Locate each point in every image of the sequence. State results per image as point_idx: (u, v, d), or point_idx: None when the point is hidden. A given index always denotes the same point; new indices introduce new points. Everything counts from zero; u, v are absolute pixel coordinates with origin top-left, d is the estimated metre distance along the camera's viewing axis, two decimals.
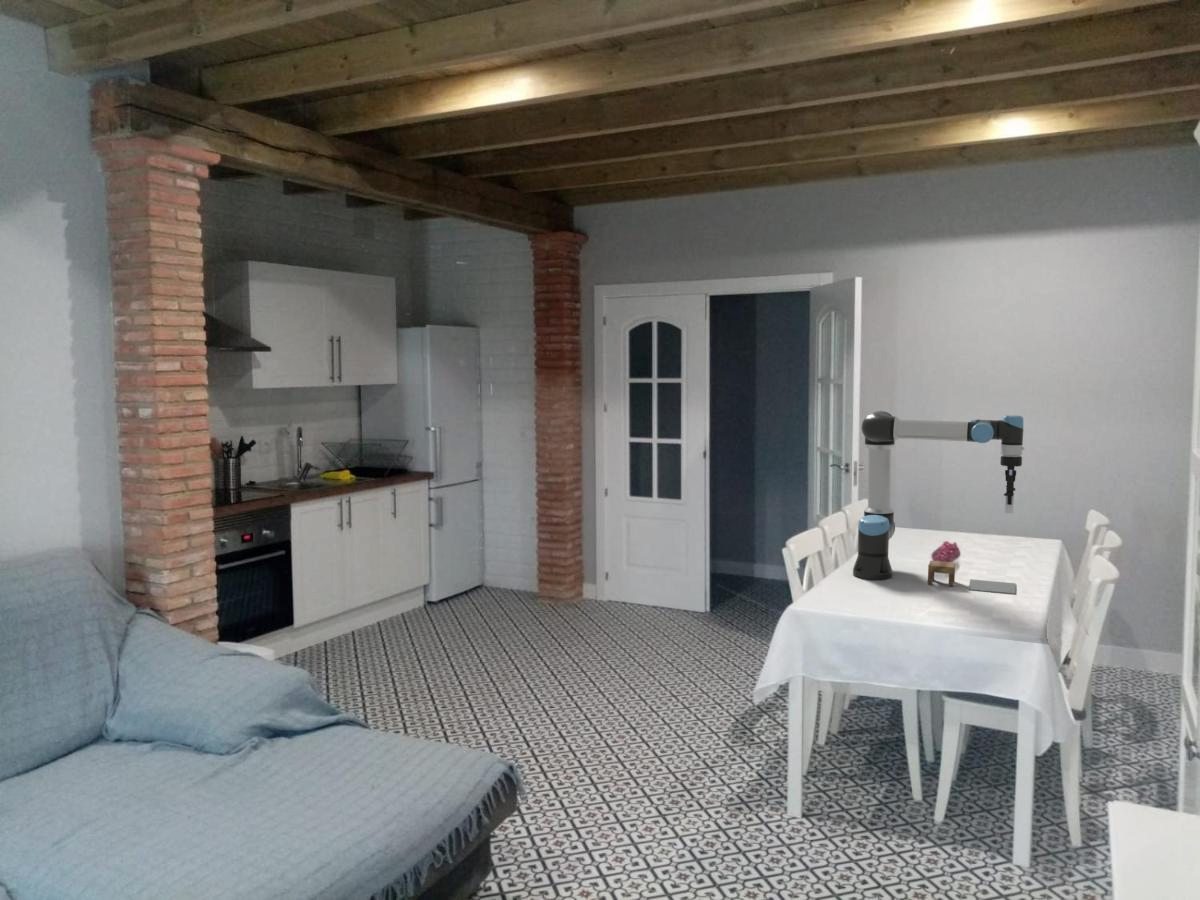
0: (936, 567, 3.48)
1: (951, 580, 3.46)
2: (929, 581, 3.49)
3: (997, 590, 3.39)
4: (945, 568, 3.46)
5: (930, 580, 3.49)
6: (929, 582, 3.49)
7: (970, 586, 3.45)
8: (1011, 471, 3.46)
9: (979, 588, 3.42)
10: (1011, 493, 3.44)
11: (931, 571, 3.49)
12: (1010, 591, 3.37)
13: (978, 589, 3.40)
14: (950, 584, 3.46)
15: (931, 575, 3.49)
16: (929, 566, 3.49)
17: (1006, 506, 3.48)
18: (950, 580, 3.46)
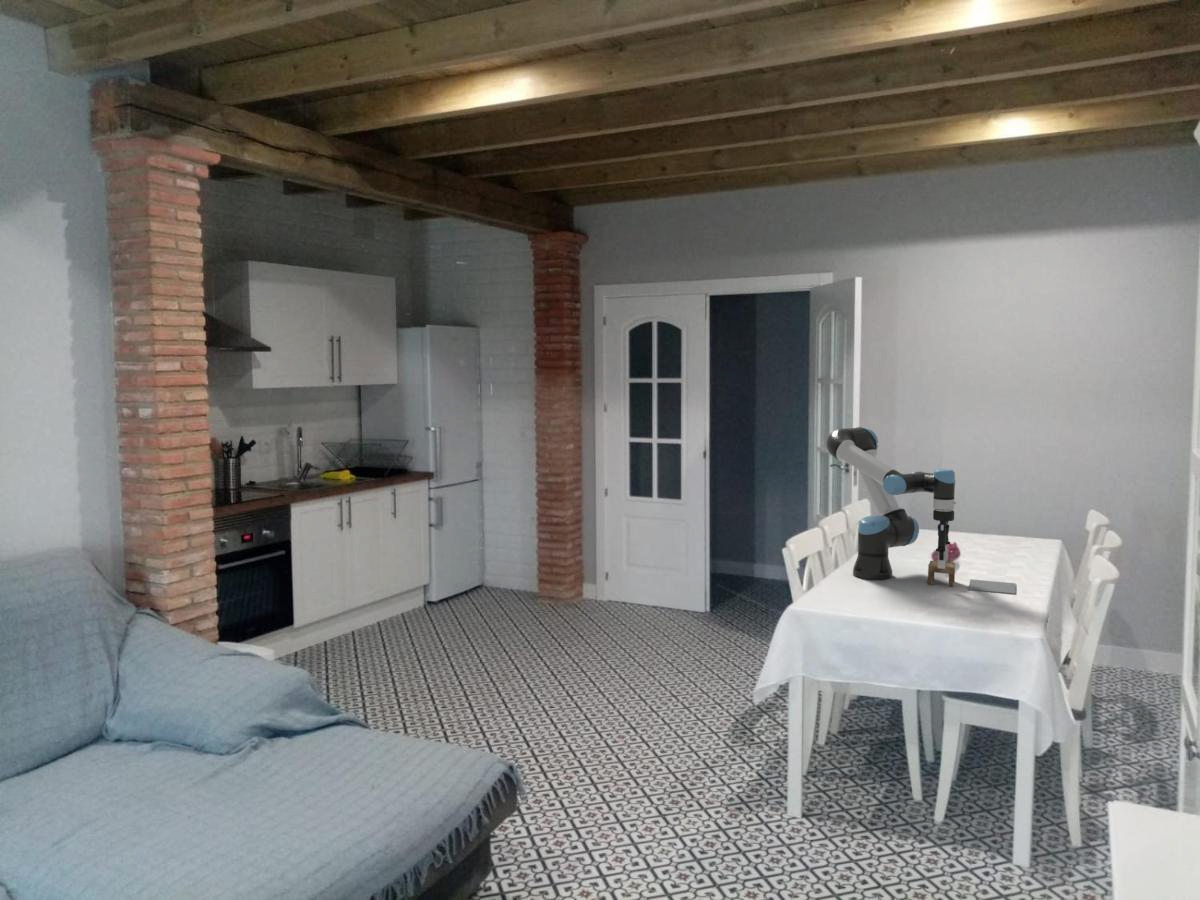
0: (936, 567, 3.48)
1: (951, 580, 3.46)
2: (929, 581, 3.49)
3: (997, 590, 3.39)
4: (945, 568, 3.46)
5: (930, 580, 3.49)
6: (929, 582, 3.49)
7: (970, 586, 3.45)
8: (942, 526, 3.43)
9: (979, 588, 3.42)
10: (942, 549, 3.41)
11: (931, 571, 3.49)
12: (1010, 591, 3.37)
13: (978, 589, 3.40)
14: (950, 584, 3.46)
15: (931, 575, 3.49)
16: (929, 566, 3.49)
17: (938, 561, 3.44)
18: (950, 580, 3.46)
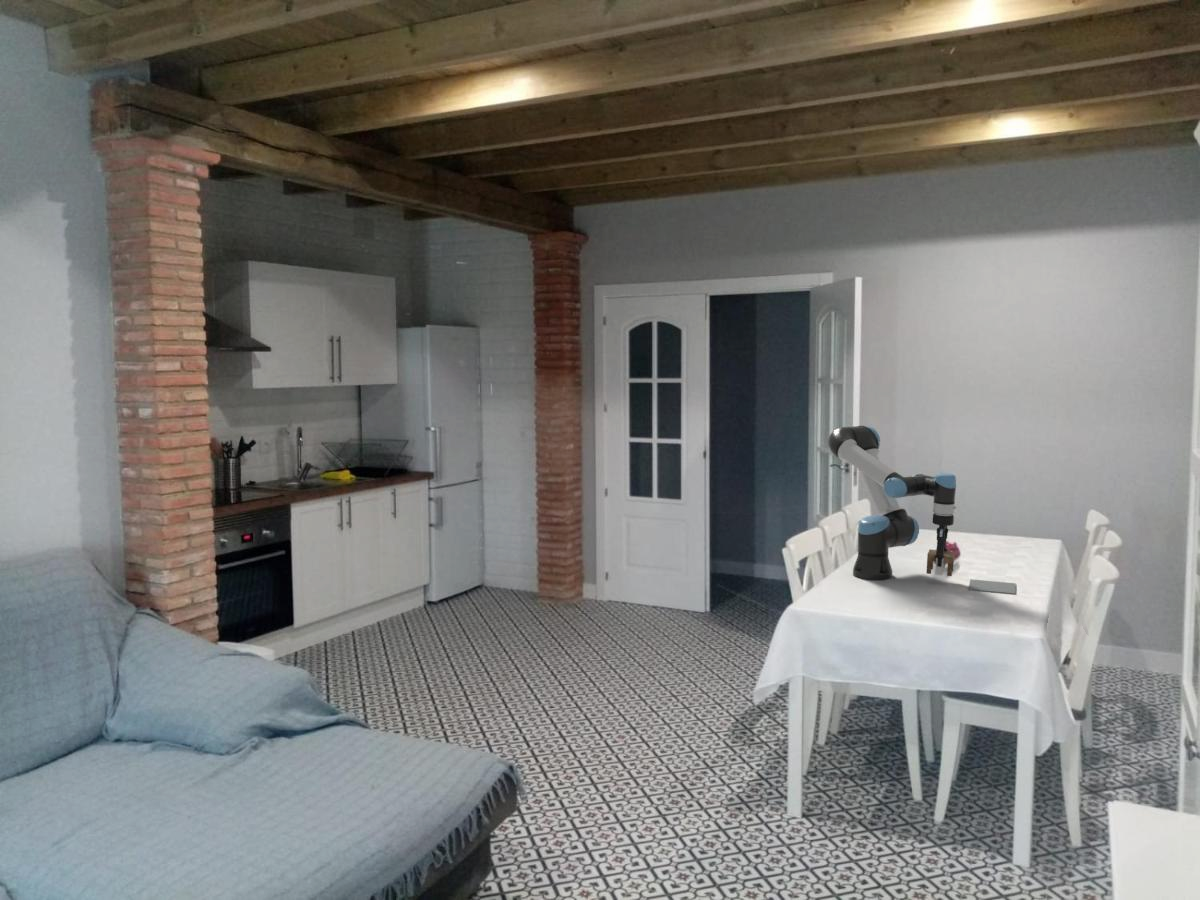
0: None
1: (950, 569, 3.46)
2: (928, 570, 3.49)
3: (997, 590, 3.39)
4: (944, 557, 3.46)
5: (929, 569, 3.49)
6: (928, 571, 3.50)
7: (970, 586, 3.45)
8: (941, 533, 3.44)
9: (979, 588, 3.42)
10: (941, 556, 3.43)
11: (930, 560, 3.49)
12: (1010, 591, 3.37)
13: (978, 589, 3.40)
14: (949, 573, 3.46)
15: (930, 564, 3.49)
16: (928, 555, 3.49)
17: (936, 568, 3.47)
18: (949, 569, 3.46)
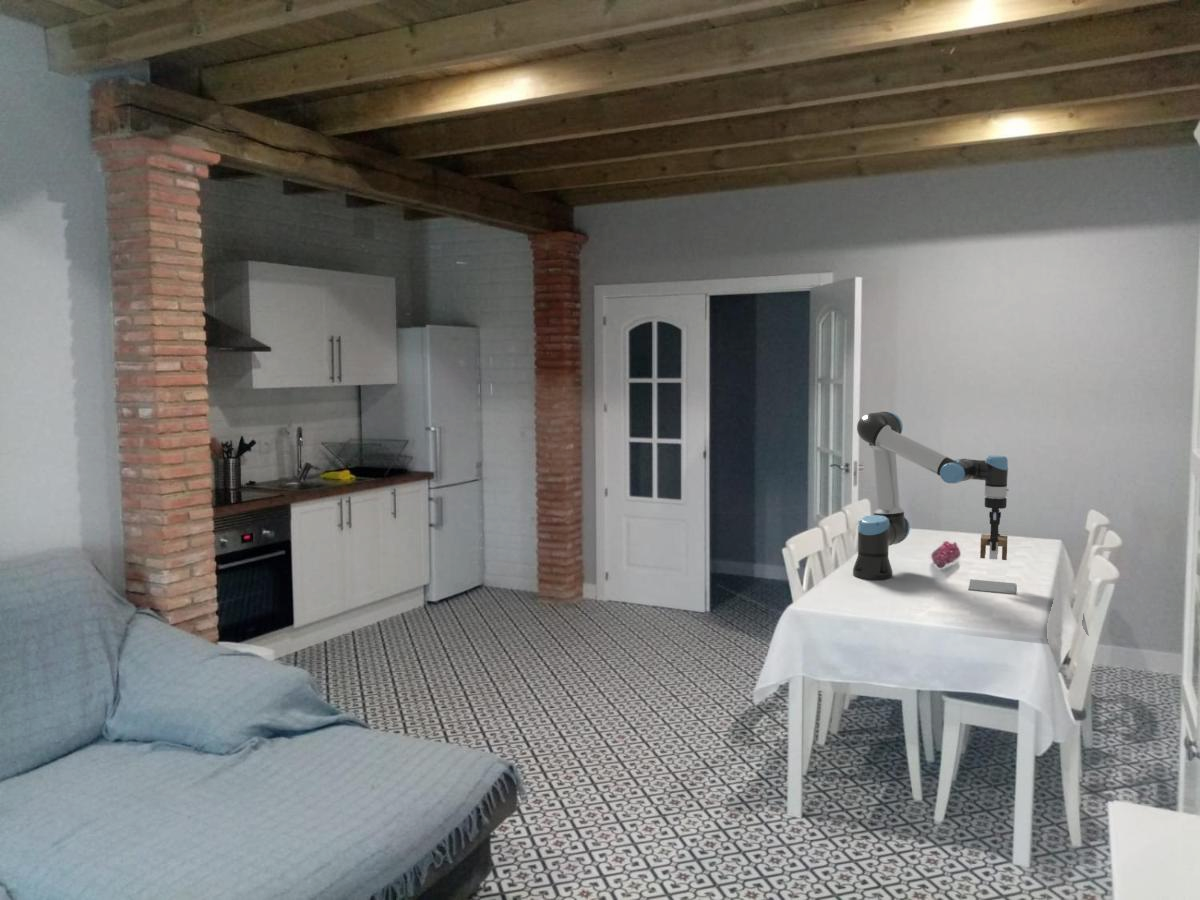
0: None
1: (1005, 553, 3.38)
2: (981, 554, 3.41)
3: (997, 590, 3.39)
4: (998, 541, 3.39)
5: (983, 553, 3.41)
6: (981, 555, 3.41)
7: (970, 586, 3.45)
8: (995, 516, 3.36)
9: (979, 588, 3.42)
10: (995, 539, 3.36)
11: (984, 544, 3.41)
12: (1010, 591, 3.37)
13: (978, 589, 3.40)
14: (1003, 557, 3.38)
15: (983, 549, 3.41)
16: (981, 539, 3.41)
17: (990, 552, 3.39)
18: (1003, 553, 3.38)
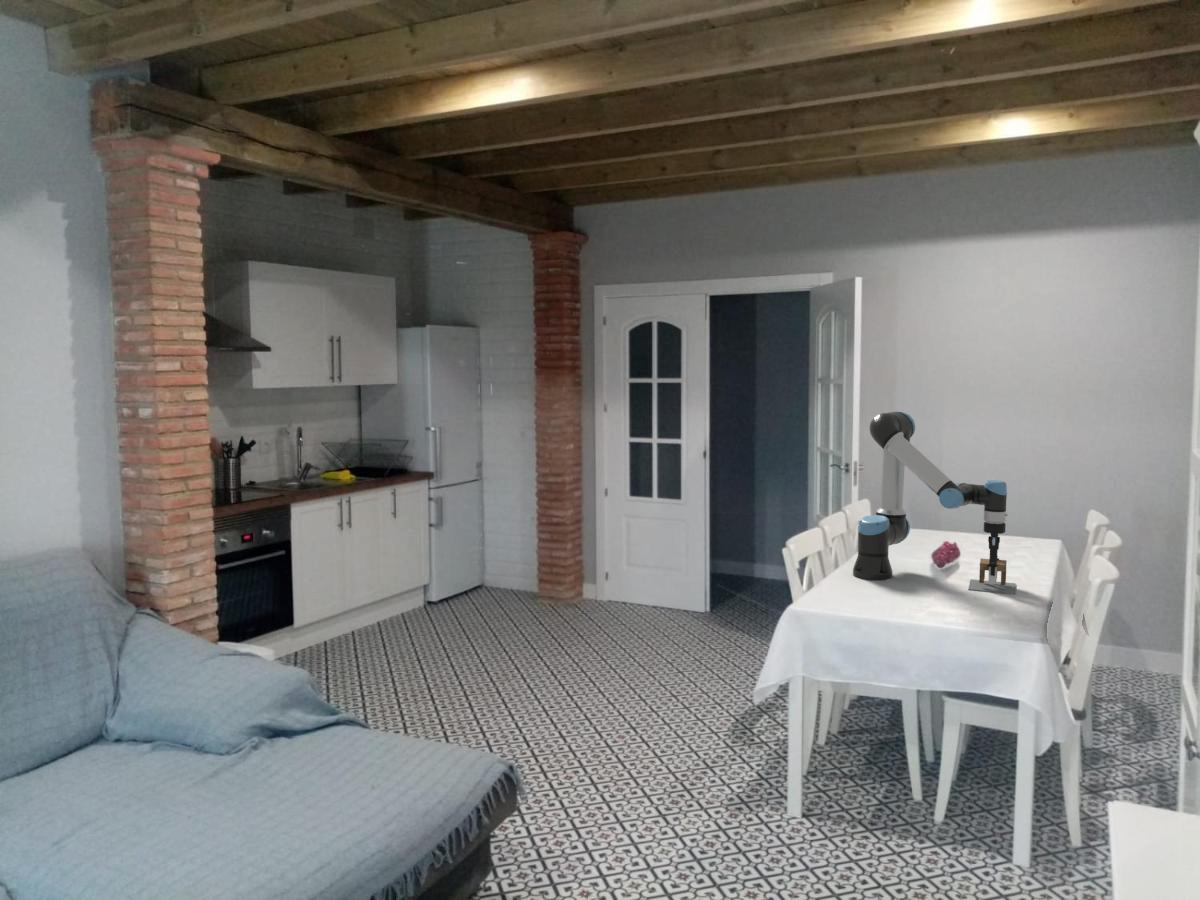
0: None
1: (1004, 578, 3.39)
2: (981, 579, 3.42)
3: (997, 590, 3.39)
4: (997, 566, 3.40)
5: (982, 578, 3.42)
6: (981, 580, 3.42)
7: (970, 586, 3.45)
8: (994, 541, 3.37)
9: (979, 588, 3.42)
10: (994, 564, 3.37)
11: (983, 569, 3.42)
12: (1010, 591, 3.37)
13: (978, 589, 3.40)
14: (1002, 582, 3.39)
15: (983, 573, 3.42)
16: (981, 564, 3.42)
17: (989, 577, 3.40)
18: (1002, 578, 3.39)
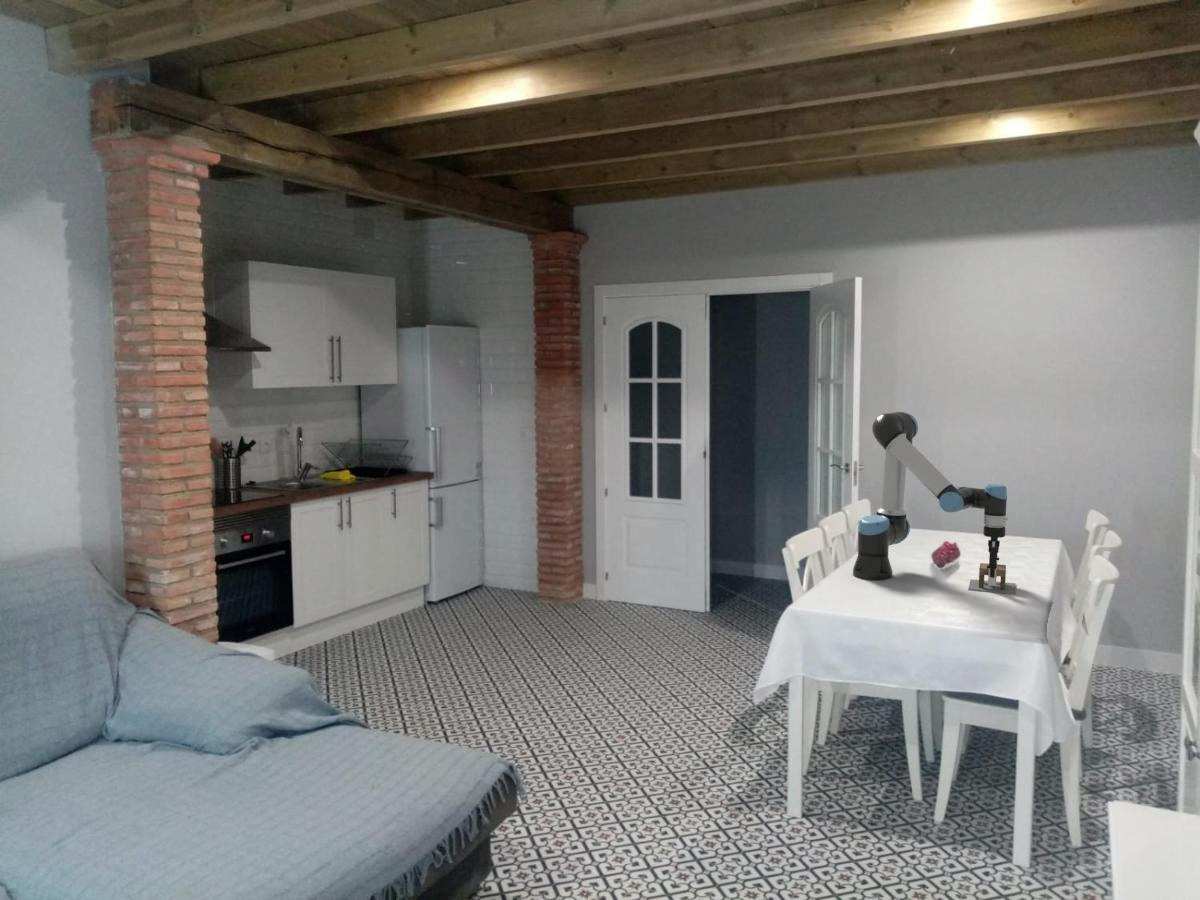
0: (987, 570, 3.41)
1: (1003, 583, 3.39)
2: (980, 584, 3.43)
3: (997, 590, 3.39)
4: (997, 571, 3.40)
5: (981, 583, 3.43)
6: (980, 585, 3.43)
7: (970, 586, 3.45)
8: (994, 543, 3.37)
9: (979, 588, 3.42)
10: (994, 566, 3.35)
11: (982, 574, 3.42)
12: (1010, 591, 3.37)
13: (978, 589, 3.40)
14: (1002, 587, 3.40)
15: (982, 578, 3.42)
16: (980, 569, 3.42)
17: (989, 579, 3.39)
18: (1002, 583, 3.40)
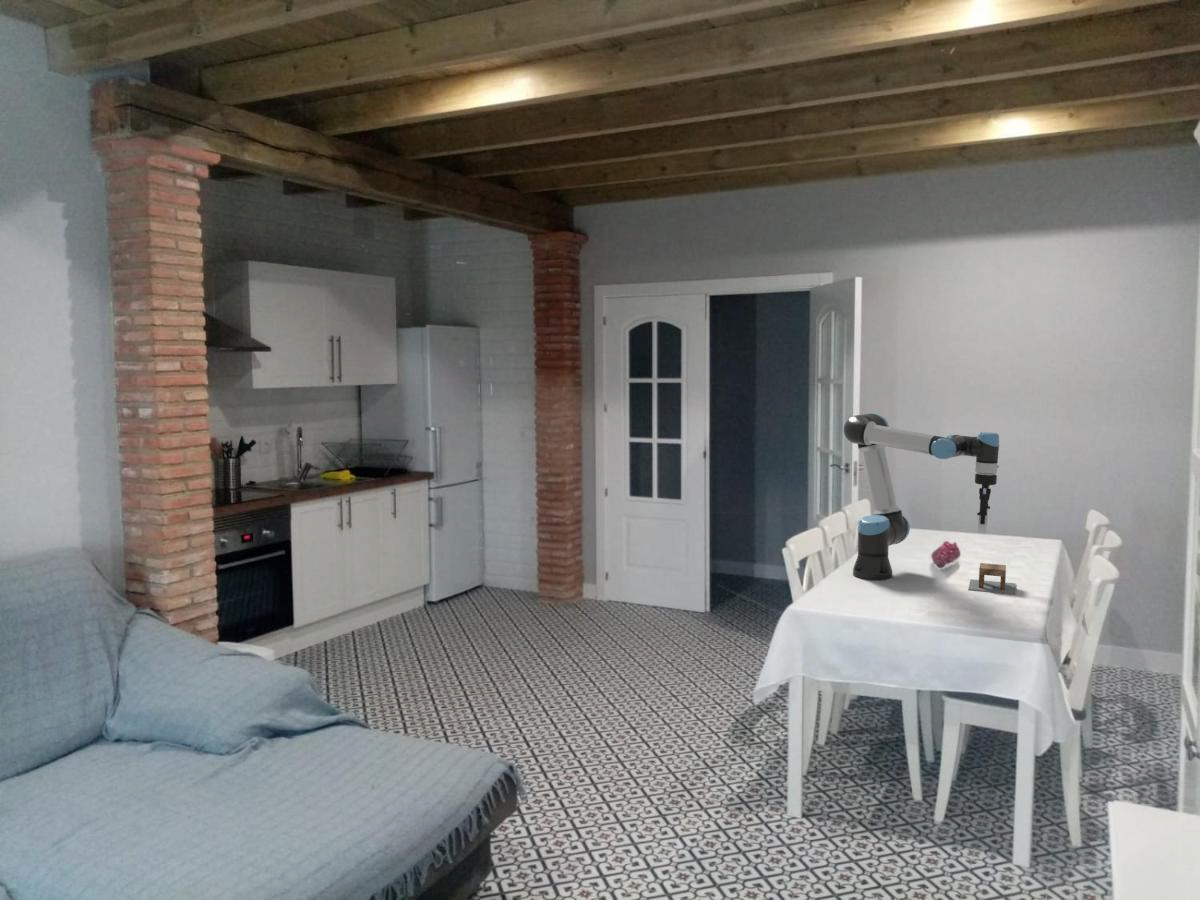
0: (987, 570, 3.41)
1: (1003, 583, 3.39)
2: (980, 584, 3.43)
3: (997, 590, 3.39)
4: (997, 571, 3.40)
5: (981, 583, 3.43)
6: (980, 585, 3.43)
7: (970, 586, 3.45)
8: (985, 490, 3.38)
9: (979, 588, 3.42)
10: (984, 513, 3.36)
11: (982, 574, 3.42)
12: (1010, 591, 3.37)
13: (978, 589, 3.40)
14: (1002, 587, 3.40)
15: (982, 578, 3.42)
16: (980, 569, 3.42)
17: (979, 525, 3.40)
18: (1002, 583, 3.40)
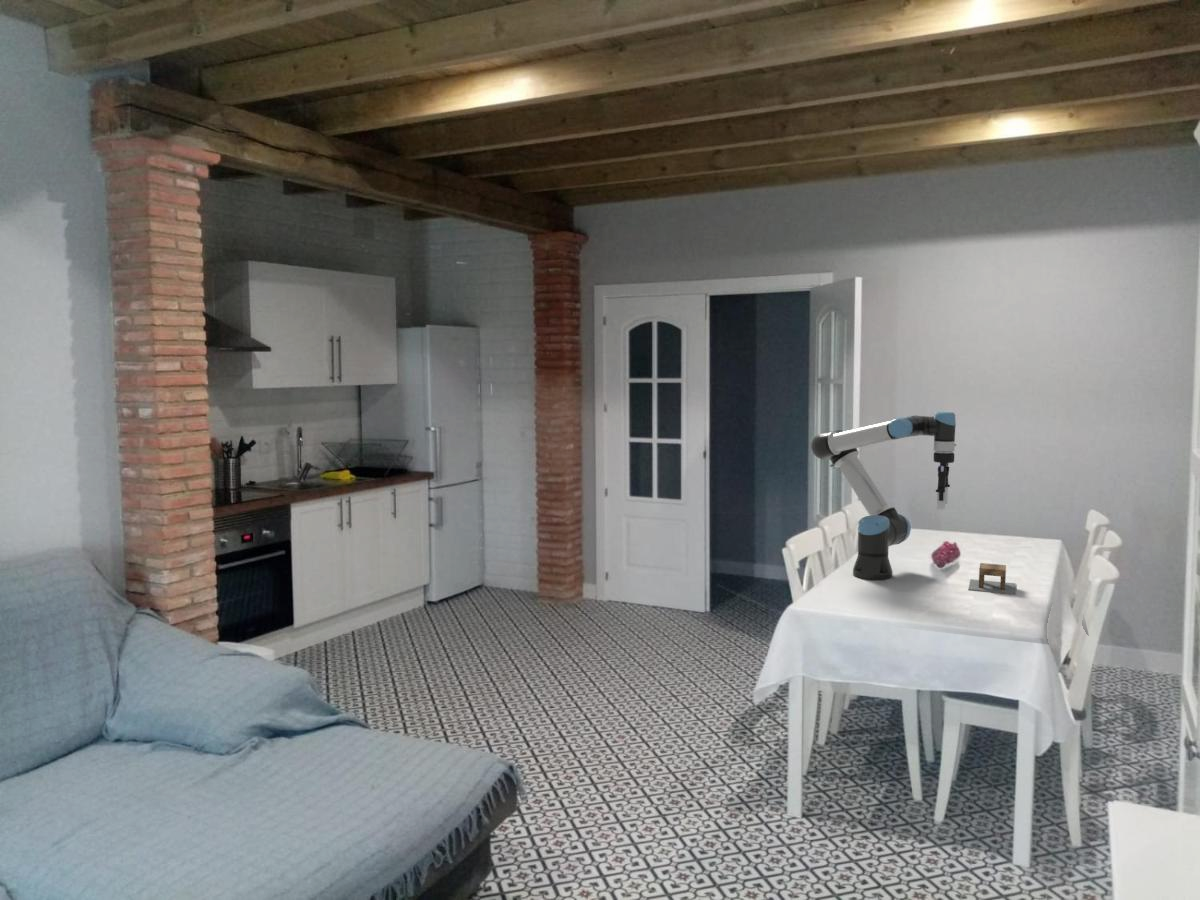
0: (987, 570, 3.41)
1: (1003, 583, 3.39)
2: (980, 584, 3.43)
3: (997, 590, 3.39)
4: (997, 571, 3.40)
5: (981, 583, 3.43)
6: (980, 585, 3.43)
7: (970, 586, 3.45)
8: (943, 467, 3.48)
9: (979, 588, 3.42)
10: (942, 489, 3.45)
11: (982, 574, 3.42)
12: (1010, 591, 3.37)
13: (978, 589, 3.40)
14: (1002, 587, 3.40)
15: (982, 578, 3.42)
16: (980, 569, 3.42)
17: (938, 502, 3.49)
18: (1002, 583, 3.40)
